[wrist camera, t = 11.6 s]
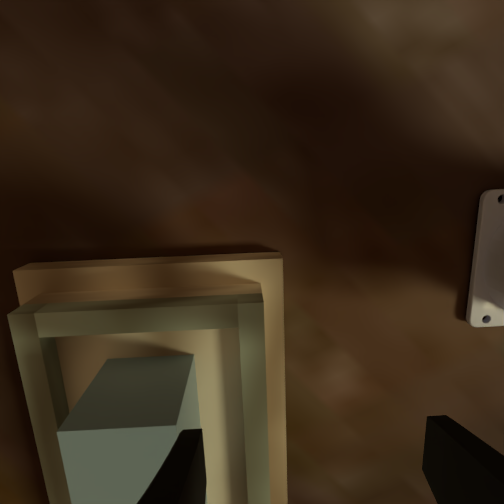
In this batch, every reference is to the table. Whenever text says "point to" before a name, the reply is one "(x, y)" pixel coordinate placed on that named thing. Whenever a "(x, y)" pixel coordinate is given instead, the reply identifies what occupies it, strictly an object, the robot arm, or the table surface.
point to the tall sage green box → (127, 427)
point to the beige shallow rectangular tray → (164, 354)
